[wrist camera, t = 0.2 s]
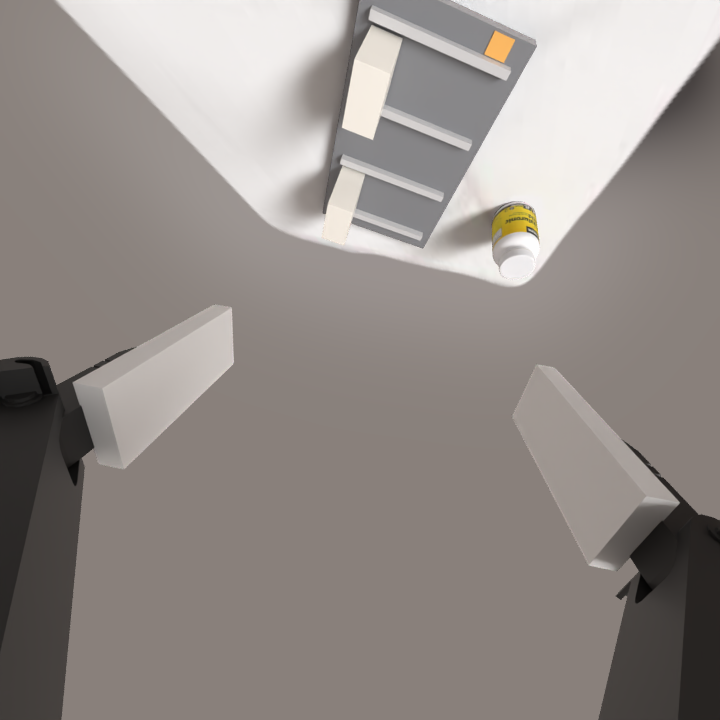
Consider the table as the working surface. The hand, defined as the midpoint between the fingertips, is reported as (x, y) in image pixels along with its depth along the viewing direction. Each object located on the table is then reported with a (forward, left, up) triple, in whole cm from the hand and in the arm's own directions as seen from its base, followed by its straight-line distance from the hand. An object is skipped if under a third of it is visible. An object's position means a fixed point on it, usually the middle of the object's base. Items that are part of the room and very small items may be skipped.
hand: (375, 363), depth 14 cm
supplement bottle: (+20, +6, -35) cm, 41 cm away
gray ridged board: (+6, -5, -35) cm, 36 cm away
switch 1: (+8, -13, -33) cm, 37 cm away
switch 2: (-2, -5, -33) cm, 34 cm away
